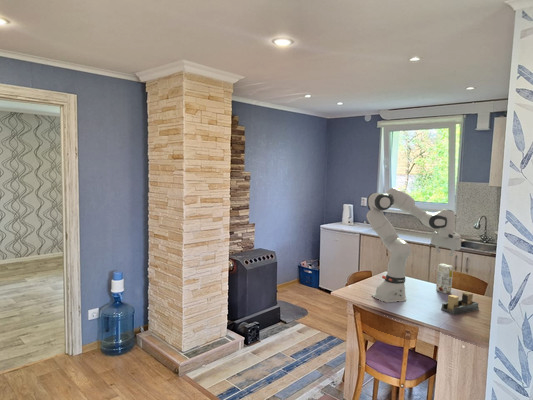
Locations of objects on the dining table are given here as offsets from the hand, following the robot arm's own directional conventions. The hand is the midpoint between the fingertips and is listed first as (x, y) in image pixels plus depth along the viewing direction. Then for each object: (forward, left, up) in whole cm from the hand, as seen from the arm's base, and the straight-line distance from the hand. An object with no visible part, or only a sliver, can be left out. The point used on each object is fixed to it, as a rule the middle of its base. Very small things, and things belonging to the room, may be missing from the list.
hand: (444, 254), depth 242 cm
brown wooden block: (-3, -20, -28) cm, 34 cm away
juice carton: (+10, +6, -29) cm, 32 cm away
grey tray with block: (-9, -20, -29) cm, 37 cm away
